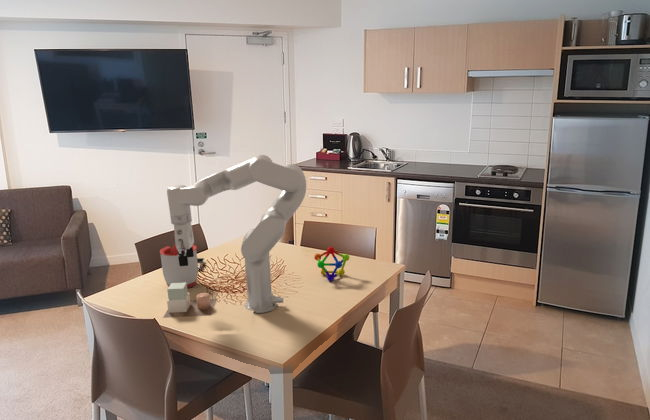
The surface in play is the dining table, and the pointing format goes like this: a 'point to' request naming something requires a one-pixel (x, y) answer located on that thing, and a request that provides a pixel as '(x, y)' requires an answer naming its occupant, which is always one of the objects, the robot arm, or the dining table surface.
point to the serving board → (193, 310)
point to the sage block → (177, 291)
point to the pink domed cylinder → (203, 301)
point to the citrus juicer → (178, 267)
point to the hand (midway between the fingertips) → (186, 261)
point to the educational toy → (337, 264)
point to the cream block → (179, 305)
